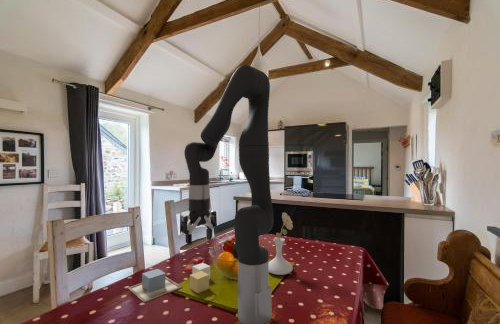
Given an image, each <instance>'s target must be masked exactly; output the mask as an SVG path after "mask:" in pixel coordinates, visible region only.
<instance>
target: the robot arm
mask: <svg viewBox="0 0 500 324" xmlns="http://www.w3.org/2000/svg"><path fill="white" fill-rule="evenodd" d="M270 84H271V83H270V79H269V76H268V75H267V74H266V73H265V72H264V71H262V70H259V69H258V68H256V67H254V66H252V65H249V64H242V65H239V66H238V67H237V68H236V70H235V71H234V72H233V74H232V75H231V77H230V79H229V81H228V83H227V86H226V87H225V90H224V92H223V94H222V96H221V98H220V100H219V102H218V105H217V106H216V109H215V111H214V113H213V114H212V116H211V118H210V119H209V121H208V122H207V123H206V125H204V128H203V129H202V130H201V133H200V139H201V141H202V142H197V141H190V142H188V143H186V145H185V147H184V158H185V163H186V165H187V170H188V172H189V181H188V182H189V184H188V185H189V186H188V211H189V213H188V215H183V214H182V215H181V216H180V225H179V226H180V229H179V231H180V233H181V234H185V243H186V244H187V246H191V245H193V241H192V240H193V239H192V238H193V237H192V235H193V234H192V233H193V231H194V230H195V229H196V228H197V227H199V226H204V227H206V228H205V229H206V231H205V233H206V234H205V235H206V240H208V241H211V240H212V238H213V229H214V228H217V227H218V224H217V223H218V220H217V211H216V210H210V209H211V207H210V206H211V195H210V193H211V190H210V172H209V170H208V169H207V168H204V167H202V166H201V163H205V162H209V161H211V160H212V159H213V157H214V156H215V153H216V151H217V148H218V145H219V143H220V141H221V140H222V139H223V137H225V135H226V134H227V132H228V131H229V129H230V126H231V121H232V116H233V111H234V109H235V107H236V105H237V104H238V103H239V101H241V99H242V98H244V99H247V102H248V118H247V119H246V120H247V121H246V123H245V124H244V128H243V129H242V132H241V133H240V137H239V140H238V142H239V143H238V162H239V166H240V169H241V171H242V173H243V174H244V177H245V178H246V181H247V183H248V186H249V188H250V194H251V205H250V206H244V207H241V208H239V209H238V210H237V211H236V213H235V216H234V219H233V220H234V221H233V225H234V228H233V229H234V244H235V245H234V246H235V251H236V255H237V319H238V321H239V322H240V323H241V324H266V323H268V322H270V321H271V320H272V317H273V316H272V311H273V310H272V286H270V283H269V282H270V281H269V279H270V278H269V277H270V275H269V273H270V272H269V262H270V261H269V259H270V258H269V254H270V253H269V251H268V249H267V248H266V247H263V246H261V245H260V240H259V239H260V238H259V237H260V236H264V235H266V234H269V233H270V232H271V231H272V229H273V226H274V209H273V203H272V201H273V200H272V193H271V182H270V144H269V106H270V105H269V104H270V95H271V94H270V91H271V85H270Z"/></svg>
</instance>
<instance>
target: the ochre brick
mask: <svg viewBox="0 0 500 324" xmlns="http://www.w3.org/2000/svg"><path fill="white" fill-rule="evenodd" d="M189 289H190V290H191V291H193V292H194V293H196V294H200V293H201V292H204V291H208V290H209V289H210V279H209V274H207V273H205V272H203V271H199V272H196V273H193V274H192V273H190V274H189Z"/></svg>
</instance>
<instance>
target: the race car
mask: <svg viewBox="0 0 500 324" xmlns="http://www.w3.org/2000/svg"><path fill="white" fill-rule="evenodd" d="M201 263H204V264H206V261H205V258H204V257H194V258H193V259H191V260H190V261H189V262H188V263H186V264H187V265H186V266H184V269H183V272H184V273H186V274H192V266H195V265H198V264H201Z"/></svg>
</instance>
